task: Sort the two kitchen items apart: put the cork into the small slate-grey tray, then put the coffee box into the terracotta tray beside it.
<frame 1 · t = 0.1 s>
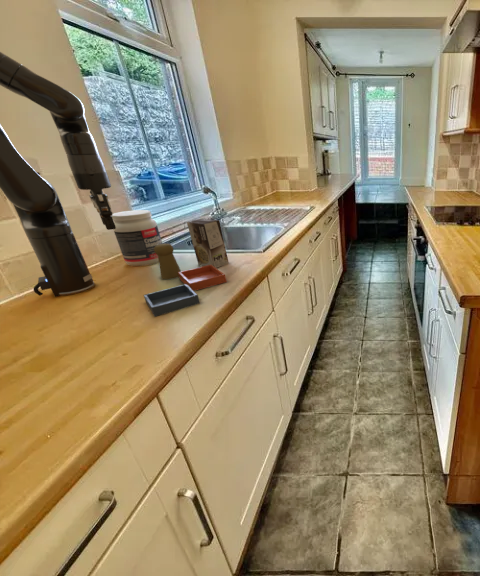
hand: (109, 226, 98), 17 cm above the worktop, tool pointing down, fingers open, 8 cm apart
slate tray: (173, 303, 88), on the worktop
supplement tub: (147, 262, 120), on the worktop
cork: (172, 276, 107), on the worktop
terracotta tray: (203, 280, 103), on the worktop
coffee box: (213, 264, 117), on the worktop
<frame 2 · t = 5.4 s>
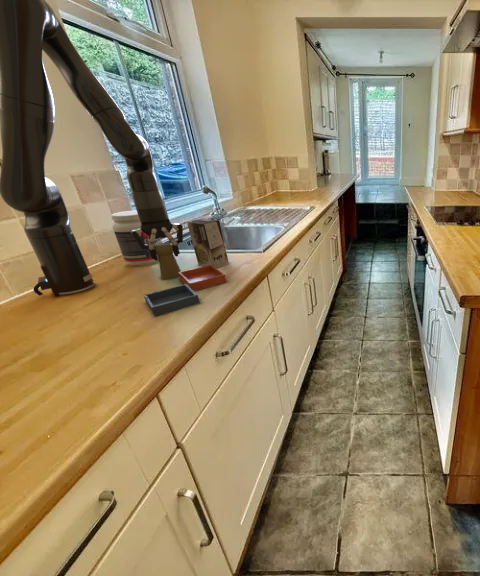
hand: (166, 257, 104), 6 cm above the worktop, tool pointing down, fingers closed on cork, 5 cm apart
cork: (172, 276, 107), on the worktop, touching gripper
everything else where it was.
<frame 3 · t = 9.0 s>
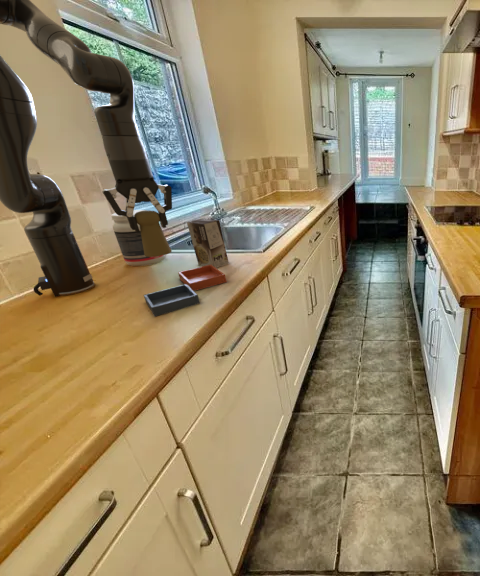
hand: (150, 229, 81), 21 cm above the worktop, tool pointing down, fingers closed on cork, 5 cm apart
cork: (158, 253, 84), point 14 cm above the worktop, touching gripper
everything else where it was.
when the fingers open (7 cm above the worktop, at t = 12.6 s): cork stays where it is, resting on slate tray.
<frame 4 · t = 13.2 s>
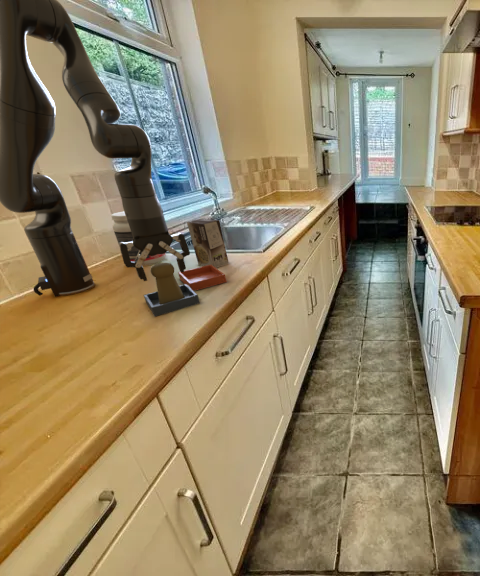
hand: (164, 275, 85), 8 cm above the worktop, tool pointing down, fingers open, 8 cm apart
cork: (172, 301, 88), resting on slate tray
everything else where it was.
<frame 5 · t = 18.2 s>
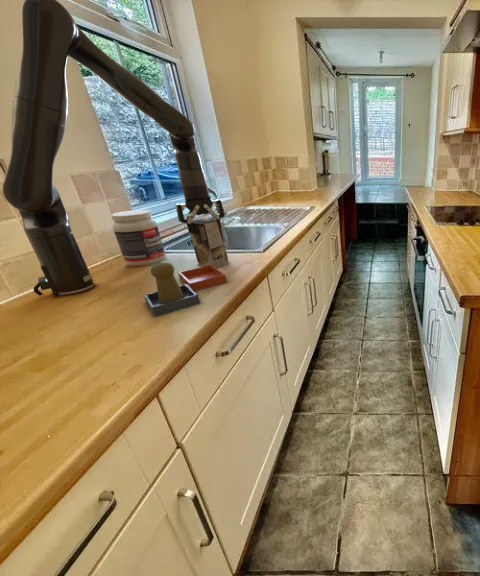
hand: (205, 231, 112), 12 cm above the worktop, tool pointing down, fingers closed on coffee box, 8 cm apart
coffee box: (213, 264, 117), on the worktop, touching gripper
everything else where it was.
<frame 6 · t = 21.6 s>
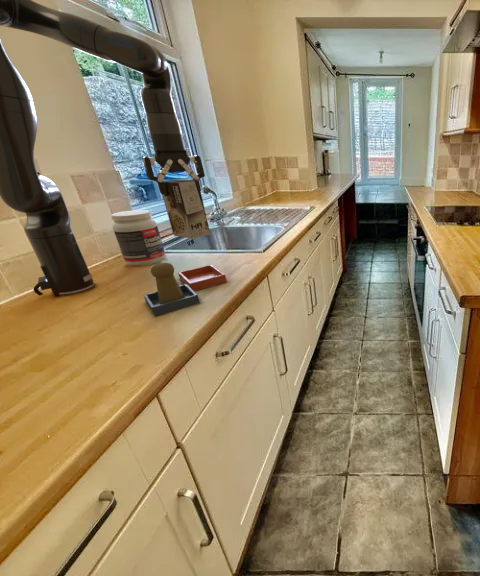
hand: (181, 194, 93), 27 cm above the worktop, tool pointing down, fingers closed on coffee box, 8 cm apart
coffee box: (192, 235, 98), point 15 cm above the worktop, touching gripper
everything else where it was.
when the fingers open (13 cm above the worktop, at t = 25.5 s): coffee box stays where it is, resting on terracotta tray.
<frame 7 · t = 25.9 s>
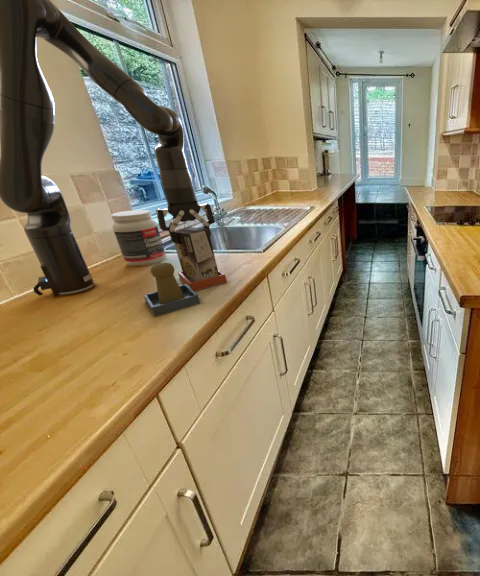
hand: (192, 240, 97), 13 cm above the worktop, tool pointing down, fingers open, 8 cm apart
coffee box: (202, 279, 103), resting on terracotta tray
everything else where it was.
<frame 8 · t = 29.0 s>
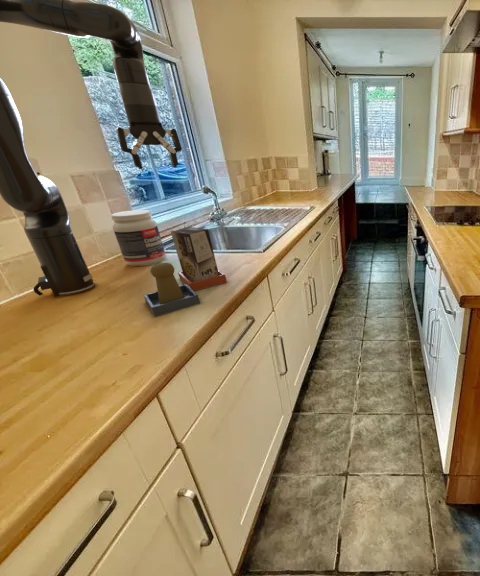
hand: (158, 167, 93), 34 cm above the worktop, tool pointing down, fingers open, 8 cm apart
nothing on the worktop moved.
at the end: cork 0.1 cm off-centre in the slate tray, point 0.4 cm above the slate tray's base; coffee box inside the target area in the terracotta tray (0.1 cm from its centre), point 0.4 cm above the terracotta tray's base; coffee box tilted 0° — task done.
